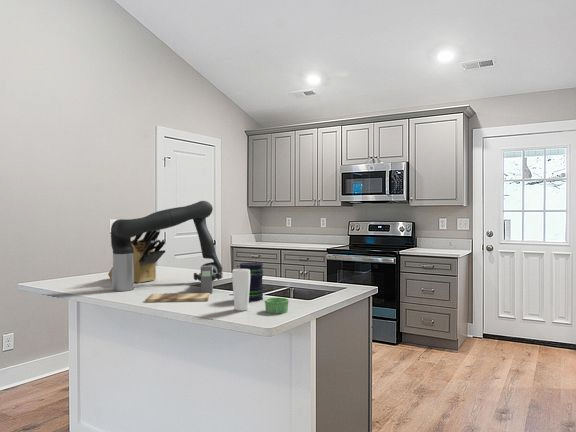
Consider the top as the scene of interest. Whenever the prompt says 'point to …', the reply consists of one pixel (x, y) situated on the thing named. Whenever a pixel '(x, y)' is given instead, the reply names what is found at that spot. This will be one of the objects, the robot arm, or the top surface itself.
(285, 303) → the ramekin
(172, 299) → the board
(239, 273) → the drinking glass
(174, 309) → the top surface
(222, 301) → the top surface
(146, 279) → the knife block
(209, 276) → the tall grey rectangular prism
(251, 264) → the storage jar
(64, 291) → the top surface
